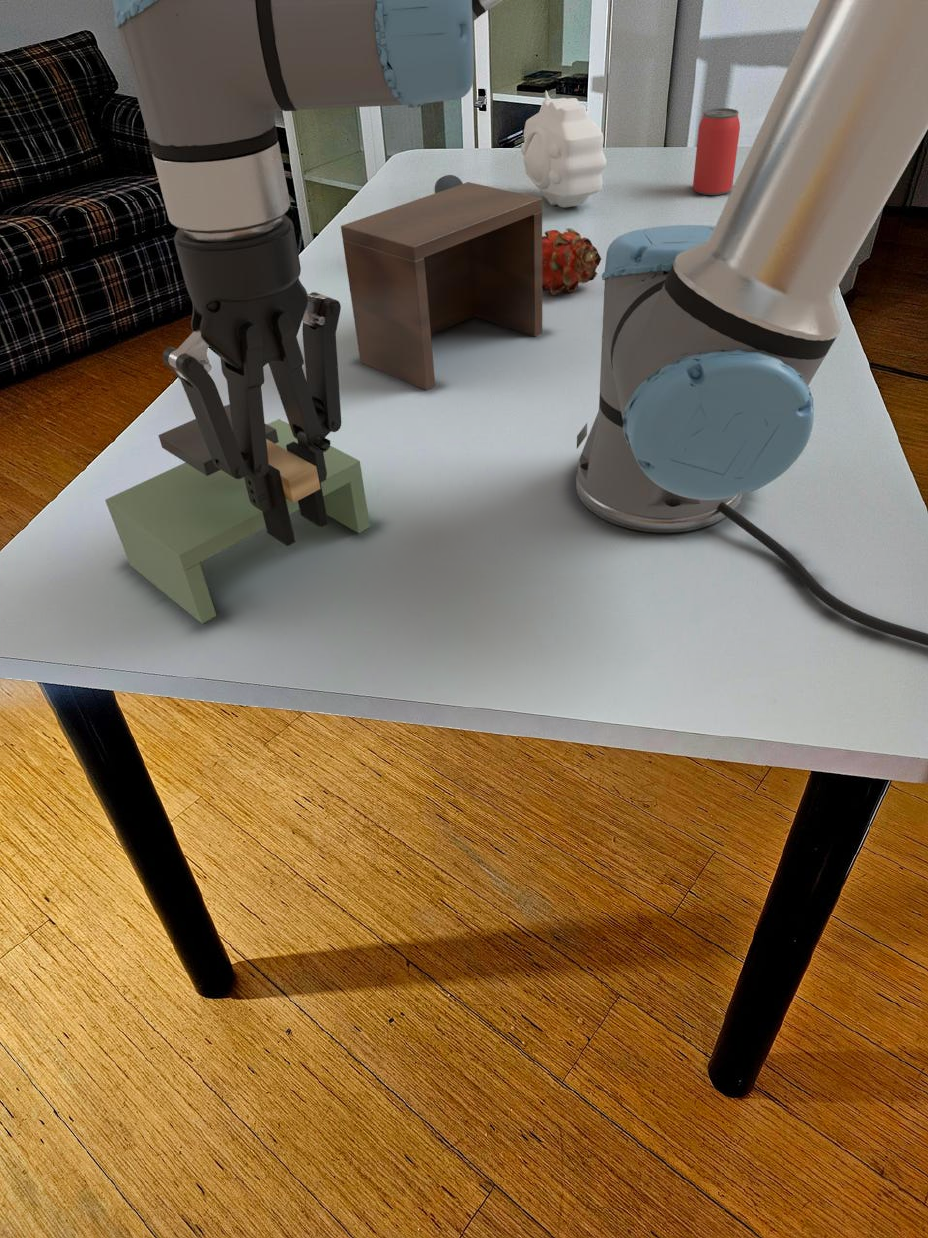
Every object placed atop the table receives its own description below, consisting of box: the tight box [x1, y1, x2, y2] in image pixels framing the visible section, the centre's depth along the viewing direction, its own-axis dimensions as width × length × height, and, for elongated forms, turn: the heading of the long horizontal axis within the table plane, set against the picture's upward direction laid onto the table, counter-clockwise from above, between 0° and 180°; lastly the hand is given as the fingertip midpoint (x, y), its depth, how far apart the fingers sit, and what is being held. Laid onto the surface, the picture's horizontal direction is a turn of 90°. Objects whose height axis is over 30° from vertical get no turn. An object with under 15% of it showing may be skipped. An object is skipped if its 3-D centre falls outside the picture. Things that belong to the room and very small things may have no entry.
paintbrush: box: [434, 174, 464, 194], centre depth 149 cm, size 20×5×5 cm, turn 38°
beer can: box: [692, 107, 741, 196], centre depth 148 cm, size 7×7×12 cm
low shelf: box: [104, 418, 371, 625], centre depth 78 cm, size 12×18×7 cm, turn 135°
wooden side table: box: [340, 181, 543, 391], centre depth 105 cm, size 12×20×16 cm, turn 135°
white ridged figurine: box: [520, 90, 607, 208], centre depth 146 cm, size 11×18×16 cm, turn 21°
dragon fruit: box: [542, 227, 602, 296], centre depth 120 cm, size 8×8×12 cm
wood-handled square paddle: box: [158, 403, 320, 503], centre depth 71 cm, size 16×7×2 cm, turn 45°
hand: (298, 527), depth 71 cm, fingers closed on wood-handled square paddle, 3 cm apart
